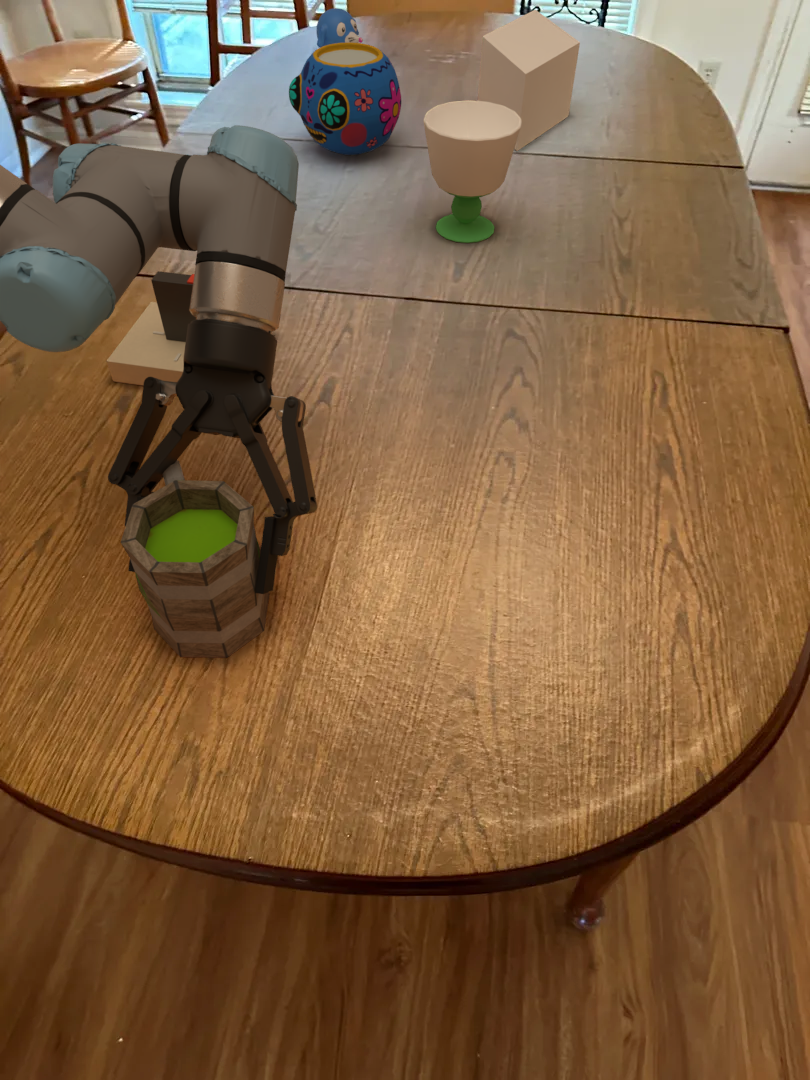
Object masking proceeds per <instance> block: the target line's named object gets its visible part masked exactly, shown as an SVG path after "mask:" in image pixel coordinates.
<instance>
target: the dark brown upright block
mask: <svg viewBox="0 0 810 1080" xmlns="http://www.w3.org/2000/svg"><path fill="white" fill-rule="evenodd" d="M194 275H195V273H191V274H185V273H179V272H178V273H177V272H168V271H160V270H157V272H155V274H154V276H153V277H152V278H151V280H150V281H151V285H152V288H153V289H152V290H153V293H154V297H155V300H156V301H155V302H157V305H158V309H159V312H160V316H161V320H162V324H163V328H164V332H165V336H166V339H167V340H175V341H183V342H186V336H187V328H188V324H190V323H191V321H193V320H196V317H195V316H193V315H192V314H191V312H190V310H189V309H190V302H191V295H192V288H193V281H194Z"/></svg>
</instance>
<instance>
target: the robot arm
mask: <svg viewBox="0 0 810 1080" xmlns="http://www.w3.org/2000/svg"><path fill="white" fill-rule="evenodd" d="M299 167H300V164H299V158H298V155H297V153H296V152H295V151H294V149H293V147H292V146H291V145H290V144H289V143H288V142H287V141H285V140H284V139H282V138H281V137H280V136H278V135H276V134H275V133H271V132H269V131H267V130H264V129H260V128H257V127H253V126H249V125H238V124H236V125H235V124H234V125H232V126H231V127H229V126H224V127H219V128H218V129H216V130H215V131H214V133H213V134H212V135H211V139H210V142H209V145H208V147H207V151H206V154H192V155H191V154H182V153H175V152H168V151H160V150H152V149H146V148H138V147H131V146H122V145H121V144H117V143H113V142H111V143H108V142H103V143H102V142H101V143H83V142H82V143H81V142H80V143H74V144H71V145H68V146H67V147H65V148H64V149H63V150H62V152H61V153H60V154H59V155H58V158H57V168H55V169H53V173H52V183H51V184H52V197H53V200H52V199H50V198H49V197H47V195H45V194H44V193H42V192H41V191H39V190H38V189H35V188H34V187H33V186H31V185H30V184H28V183H27V182H25V180H23V179H21V178H20V177H19V176H17V175H15V174H14V173H13V172H12V171H10V170H9V169H7V168H6V167H5V166H3V165H2V164H0V322H1V324H2V325H3V326H4V327H5V329H6V332H7V333H8V334H9V335H10V336H11V337H13V338H14V339H16V340H17V341H19V342H21V343H22V344H24V345H26V346H28V347H31V348H34V349H37V350H39V351H44V352H48V353H65V352H68V351H72V350H74V349H77V348H78V347H80V346H82V345H83V344H84V343H85V342H86V341H87V340H88V339H89V338H90V337H91V336H92V334H93V333H94V332H95V331H96V330H97V329H98V328H99V326H101V325H102V324H103V323H104V321H107V320H109V319H110V317H111V316H112V314H113V313H114V311H115V308H116V305H117V303H118V302H119V301H120V299H121V298H122V296H123V295H124V294H125V293H126V291H127V290H128V288H129V287H130V285H131V284H132V283H133V281H134V280H135V279H136V277H138V275H140V273H141V271H142V270H143V269H144V268H145V265H146V264H148V262H149V261H150V259H151V258H152V257H153V256H154V254H155V253H156V251H157V250H158V249H159V248H163V249H172V250H179V251H180V250H181V251H188V252H196V256H195V263H194V265H195V269H194V274H195V275H194V281H193V288H192V295H191V302H190V309H189V310H190V312H191V314H192V315H193V316H195V317H196V320H193V321H191V323H190V324H188V328H187V336H186V344H185V352H184V369H183V373H182V375H181V377H180V379H179V380H178V382H170V381H163V380H160V379H157V378H154V377H147V378H146V379H145V380H144V385H142V394H141V403H140V405H139V407H138V409H137V411H136V414H135V416H134V418H133V419H132V422H131V425H130V427H129V429H128V431H127V433H126V436H125V438H124V440H123V442H122V444H121V446H120V448H119V451H118V453H117V455H116V457H115V459H114V461H113V463H112V466H111V468H110V470H109V472H108V474H107V481H108V482H109V483H110V484H111V485H115V486H118V487H119V488H121V489H123V490H124V491H125V492H126V494H127V502H126V510H125V519H124V528H125V527H126V524H127V521H128V517H129V514H130V511H131V508H132V505H133V504H134V503H136V502H138V501H140V500H141V499H143V498H145V497H147V496H148V495H150V494H152V493H154V492H155V491H154V489H155V488H156V487H157V486H158V485H159V483H160V482H161V481H162V479H164V478H163V475H162V474H163V473H164V471H165V470H166V469H167V468H168V467H169V466H170V465H172V464H174V463H175V462H176V461H177V460H178V461H179V459H180V457H181V456H183V453H184V452H185V451H186V450H187V449H188V448H189V447H190V445H191V443H193V441H194V440H195V439H198V438H199V437H200V436H201V435H202V434H207V435H213V436H217V435H221V436H224V437H229V438H232V439H233V438H234V439H239V440H240V442H241V444H242V445H243V446H244V448H245V449H246V451H247V454H248V457H249V458H250V460H251V463H252V465H253V467H254V469H255V472H256V474H257V476H258V478H259V481H260V483H261V485H262V487H263V489H264V492H265V495H266V496H267V499H268V501H269V503H270V506H271V508H272V510H273V512H274V513H272V516H270V515H269V516H264V521H263V530H262V536H261V544H260V550H261V551H260V558H259V566H258V573H257V581H256V588H255V593H259V594H265V593H268V592H269V593H270V592H272V591H274V587H275V586H274V585H275V579H276V572H277V563H278V557H284V556H287V555H288V553H289V551H290V549H291V543H292V535H293V527H294V522H295V520H296V519H297V518H298V517H300V516H304V515H309V514H314V513H315V512H316V511H317V509H318V502H317V497H316V496H317V495H316V491H315V486H314V482H313V476H312V475H313V474H312V469H311V464H310V458H309V453H308V448H307V442H306V437H305V431H304V421H305V416H306V409H307V406H306V402H305V401H304V400H302V399H301V398H298V397H296V396H294V395H289V396H287V397H285V396H278V395H274V392H273V388H272V382H273V376H274V369H275V362H276V356H277V355H276V354H277V347H278V340H277V339H276V336H275V335H274V334H273V332H275V331H276V330H278V329H279V328H280V322H281V314H282V308H283V300H284V294H285V288H286V275H287V269H288V267H287V266H288V261H289V255H290V248H291V241H292V236H293V235H292V234H293V228H294V222H295V215H296V211H298V204H297V193H298V181H299ZM271 332H272V334H271ZM176 397H177V398H178V401H179V402H180V404H181V406H182V408H183V409H182V412H181V413H180V414H179V415H178V417H177V418H176V419H174V421H173V423H172V424H171V429H170V430H169V431H168V433H167V434H166V435H165V436H164V438H162V440H161V441H160V442H159V444H158V445H157V447H155V449H154V450H153V451H152V452H151V454H150V455H149V456H148V457H147V459H146V460H145V458H146V456H147V453H148V451H149V450H150V447H151V445H152V443H153V441H154V438H155V436H156V434H157V432H158V430H159V428H160V426H161V423H162V422H163V419H164V418H165V417H164V416H166V415H165V414H166V412H167V408H168V406H170V405H171V404H173V401H174V399H175V398H176ZM272 409H273V410H274V412H275V417H276V419H277V421H279V422H281V432H282V438H283V444H284V448H285V449H284V450H285V453H286V457H287V458H286V459H287V464H288V470H289V476H290V480H291V486H292V487H291V488H292V491H293V498H294V501H293V498H292V495H291V494H290V492H289V489H288V487H287V485H286V483H285V480H284V478H283V476H282V473H281V471H280V469H279V467H278V464H277V462H276V459H275V458H274V456H273V453H272V451H271V449H270V446H269V444H268V438H267V436H266V434H265V432H264V429H263V427H262V425H261V422H262V421H263V419H264V418H265V417H266V416H267V415H269V413H270V412H271V411H272ZM144 460H145V461H144ZM127 571H128V572H130V573H135V570H134V568H133V565H132V563H131V560H130V559H129V561H128V570H127Z"/></svg>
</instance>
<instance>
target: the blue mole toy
mask: <svg viewBox="0 0 810 1080" xmlns="http://www.w3.org/2000/svg"><path fill="white" fill-rule="evenodd" d="M315 30H316V38H317V41H316V46H317V48H318V49H319V48H321V47H323V46H326V45H329V44H335V43H349V42H351V43H362V44H363V41H364V38H363V37H360V36H359V34H360V31H359V29H358V26H357V21H356V19H355V18H354V17H353V16H352V15H351V14H350V12H349V11H347V10H345V9H342V8H339V7H337V8H334V7H333V8H329V9H327V10H325V11H324V12H323V13H322V14H321V15H320V16H319V18H318V21H317V23H316V29H315Z"/></svg>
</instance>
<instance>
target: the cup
mask: <svg viewBox="0 0 810 1080" xmlns="http://www.w3.org/2000/svg"><path fill="white" fill-rule="evenodd" d="M422 122H423V127H424V133H425V139H426V140H425V141H426V146H427V151H428V157H429V165H430V171H431V176H432V177H433V179H434V181H435V183H436V185H437V186H438V188H439V189H441V190H442V191H444V192H445V193H447V194H448V195H451V196H454V197H453V199H452V203H451V207H450V208H451V214H447V215H445V216H442V217H441V218H440V219H439V220H437V222H436V225H435V230H436V232H437V234H438V235H439V236H441V237H443V239H445V240H448V241H451V242H455V243H462V244H473V243H479V242H482V241H485V240H488V239H489V238H490V237H492V236H493V235H494V234H495V233H494V232H495V225H494V224H493V222H492V221H491V220H489V219H488V218H487V217H485V216H482V215H481V211H482V208H483V205H482V200H481V198H483V197H485V196H488V195H491V194H493V193H494V192H496V191H497V190H498V189H499V188H500V187H501V186H502V185H503V183H504V182H505V180H506V177H507V173H508V170H509V168H510V163H511V161H512V158H513V155H514V150H515V149H514V148H515V145H516V141H517V138H518V135H519V132H520V128H521V123H522V119H521V118H520V117H519V116H518V114H517V113H516V112H515V111H513V110H511V109H509V108H507V107H505V106H503V105H499V104H494V103H490V102H484V101H478V100H470V99H469V100H468V99H467V100H457V101H456V100H455V101H448V102H444V103H441V104H438V105H435V106H434V107H432V108H430V109H429V110H428V111H426V112H425V115H424V117H423V120H422Z"/></svg>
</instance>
